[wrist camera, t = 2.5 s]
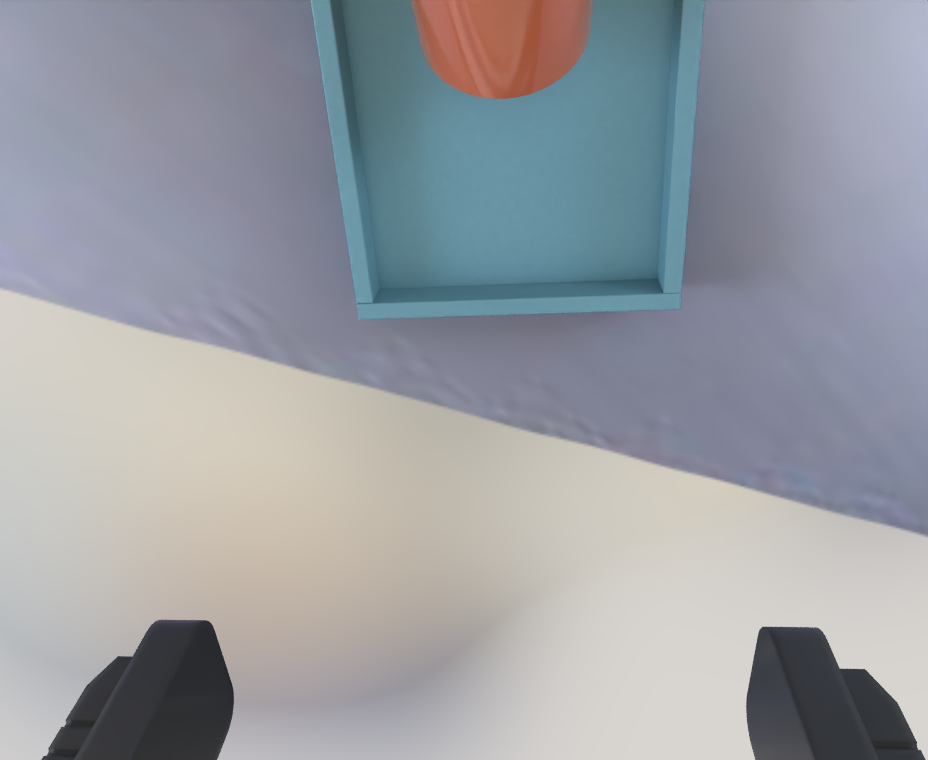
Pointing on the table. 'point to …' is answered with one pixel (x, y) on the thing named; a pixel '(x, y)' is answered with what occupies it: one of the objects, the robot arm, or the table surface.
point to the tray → (513, 168)
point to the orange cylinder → (502, 42)
